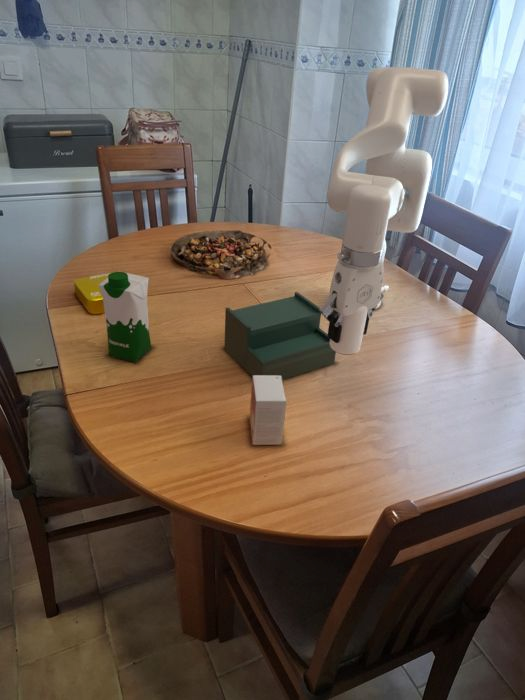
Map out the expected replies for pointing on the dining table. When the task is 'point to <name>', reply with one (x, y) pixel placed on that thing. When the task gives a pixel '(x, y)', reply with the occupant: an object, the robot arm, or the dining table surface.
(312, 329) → the step rack
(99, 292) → the yellow tin box
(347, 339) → the can
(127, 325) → the milk carton
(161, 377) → the dining table surface
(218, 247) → the food dish
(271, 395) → the small box
